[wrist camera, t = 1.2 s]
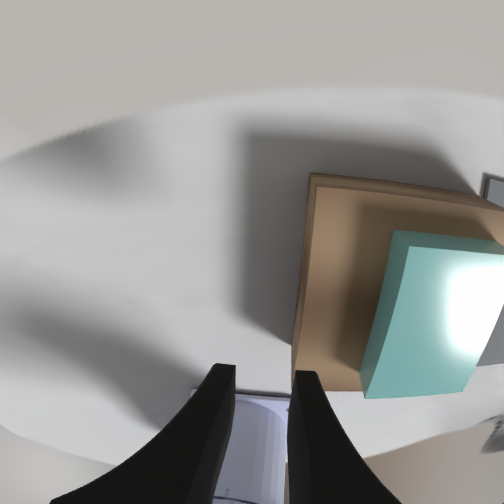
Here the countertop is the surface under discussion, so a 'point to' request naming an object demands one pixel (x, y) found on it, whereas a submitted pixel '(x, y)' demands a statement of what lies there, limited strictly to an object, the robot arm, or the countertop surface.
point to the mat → (500, 341)
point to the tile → (432, 314)
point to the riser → (364, 262)
